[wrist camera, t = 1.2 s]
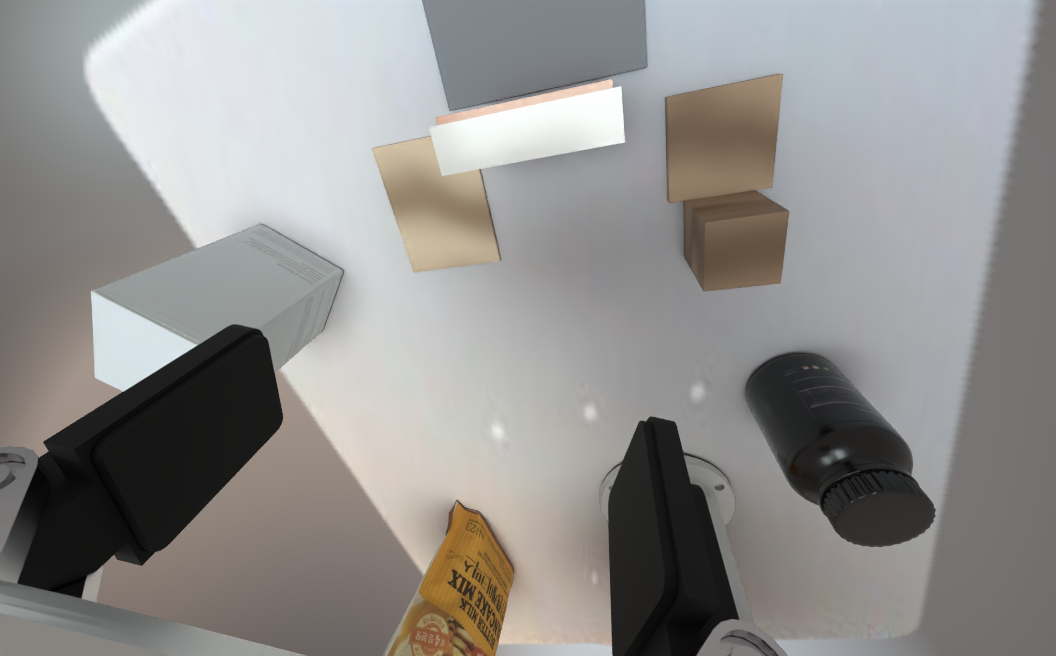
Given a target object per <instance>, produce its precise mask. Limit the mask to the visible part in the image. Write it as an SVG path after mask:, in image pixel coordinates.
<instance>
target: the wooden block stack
mask: <svg viewBox="0 0 1056 656" xmlns="http://www.w3.org/2000/svg"><path fill="white" fill-rule="evenodd" d="M782 78H783V74H777V75H772V76H767V77H762V78H757V79H752V80H747V81H742V82H737V83H732V84H727V85H722V86H718V87H713V88H708V89H703V90H698V91H693V92H688V93H683V94H678V95H673V96H668V97H665V118H666V161H667V200H668V202H669V203H672V202H679V201H683V210H684V257H685V259H686V261H687V263H688V264H689V266H690V268H691V270H692V272H693V273H694V275H695V277H696V279H697V281H698V282H699V284H700V286H701V288H702V290H703V291H713V290H722V289H732V288H741V287H751V286H760V285H770V284H779V283H781V277H782V268H783V260H784V251H785V242H786V234H787V225H788V217H789V211H788V210H787V209H785V208H783V207H782V206H780V205H778V204H777V203H775V202H773V201H772V200H770V199H768V198H767V197H765V196H763V195H762V194H760V193H758V192H757V191H755V190H759V189H765V188H772V184H773V174H774V163H775V152H776V142H777V131H778V121H779V110H780V99H781V89H782Z"/></svg>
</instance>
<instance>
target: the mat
mask: <svg viewBox="0 0 1056 656" xmlns="http://www.w3.org/2000/svg"><path fill="white" fill-rule="evenodd" d="M422 2H423V6H424V10H425V14H426V18H427V22H428V26H429V30H430V34H431V38H432V42H433V47H434V51H435V55H436V59H437V63H438V67H439V71H440V75H441V79H442V83H443V87H444V91H445V95H446V99H447V103H448V108H449V111H450V110H455V109H460V108H464V107H469V106H474V105H478V104H483V103H487V102H492V101H496V100H501V99H505V98H510V97H514V96H519V95H523V94H528V93H532V92H537V91H542V90H546V89H551V88H555V87H560V86H564V85H569V84H573V83H578V82H582V81H587V80H591V79H596V78H601V77H605V76H610V75H614V74H619V73H623V72H628V71H632V70H637V69H641V68H646V67H647V56H646V31H645V7H644V0H422Z"/></svg>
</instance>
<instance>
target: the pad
mask: <svg viewBox="0 0 1056 656" xmlns="http://www.w3.org/2000/svg"><path fill="white" fill-rule="evenodd" d="M372 151H373V154H374V157H375V160H376V162H377V165H378V168H379V171H380V174H381V177H382V180H383V183H384V186H385V189H386V192H387V195H388V198H389V201H390V204H391V207H392V210H393V213H394V216H395V219H396V221H397V224H398V227H399V230H400V233H401V236H402V239H403V242H404V245H405V248H406V251H407V254H408V257H409V260H410V263H411V266H412V269H413V272H421V271H428V270H436V269H443V268H451V267H458V266H466V265H473V264H481V263H488V262H496V261H500V260H501V259H500V254H499V250H498V246H497V241H496V237H495V232H494V228H493V224H492V219H491V215H490V210H489V206H488V202H487V197H486V193H485V188H484V184H483V180H482V175H481V171H480V169H478V170H473V171H467V172H462V173H456V174H451V175H446V176H442V174H441V171H440V167H439V163H438V160H437V156H436V152H435V149H434V145H433V141H432V138H431V136H430V137H425V138H420V139H415V140H411V141H406V142H401V143H396V144H391V145H387V146H382V147H377V148H372Z"/></svg>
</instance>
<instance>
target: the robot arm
mask: <svg viewBox="0 0 1056 656" xmlns="http://www.w3.org/2000/svg"><path fill="white" fill-rule="evenodd" d="M282 420H283V413H282V408H281V403H280V398H279V393H278V388H277V383H276V378H275V372H274V367H273V362H272V357H271V352H270V347H269V342H268V339H267V338H266V337H264V335H263V333H262V332H261V330H259V329H256V328H252V327H247V326H243V325H238V324H232V325H230V326H227V327H226V328H224V329H223V330H221V331H219V332H218V333H216V334H215V335H213V336H212V337H210V338H208V339H207V340H205V341H204V342H202V343H200V344H199V345H197V346H196V347H194V348H192V349H191V350H189V351H188V352H186V353H184V354H183V355H181V356H180V357H178V358H176V359H175V360H173V361H172V362H170V363H168V364H167V365H165V366H164V367H162V368H160V369H159V370H157V371H156V372H154V373H152V374H151V375H149V376H148V377H146V378H144V379H143V380H141V381H140V382H138V383H136V384H135V385H133V386H132V387H130V388H128V389H127V390H125V391H124V392H122V393H121V394H119V395H117V396H116V397H114V398H112V399H111V400H109V401H108V402H106V403H104V404H103V405H101V406H100V407H98V408H96V409H95V410H93V411H92V412H90V413H88V414H87V415H85V416H84V417H82V418H80V419H79V420H77V421H76V422H74V423H72V424H71V425H70V426H68V427H66V428H64V429H63V430H61V431H60V432H58V433H56V434H55V435H53V436H52V437H50V438H48V439H47V440H45V441H44V442H43V443H44V444H45V446H46V448H47V449H48V451H49V452H47V453H46V454H44V455H43V456H41V457H40V458H39V457H38V456H37V454H36V453H35V452H34V451H33V450H31V449H27V448H25V447H10V446H9V447H1V448H0V656H306V655H302V654H298V653H294V652H290V651H286V650H282V649H278V648H274V647H271V646H267V645H262V644H259V643H255V642H251V641H247V640H243V639H239V638H235V637H231V636H227V635H224V634H220V633H216V632H212V631H208V630H204V629H200V628H196V627H192V626H188V625H184V624H180V623H176V622H172V621H168V620H164V619H160V618H156V617H152V616H148V615H144V614H140V613H136V612H132V611H128V610H124V609H120V608H116V607H112V606H108V605H104V604H100V603H96V599H97V594H98V589H99V584H100V580H101V575H102V570H103V566H104V564H105V563H106V562H107V561H108V560H109V559H110V558H111V557H112V556H113V555H115V556H116V558H117V560H121V561H125V562H129V563H133V564H137V565H141V566H142V565H143V564H144V563H145V562H146V561H147V560H148V559H149V558H150V557H151V556H152V555H153V554H154V553H155V552H157V551H160V550H162V549H164V548H165V547H166V546H168V544H170V543H171V542H172V541H173V540H174V538H176V536H177V535H178V534H179V533H180V532H181V531H182V530H183V529H184V528H185V527H186V526H187V525H188V524H189V523H190V522H191V521H192V520H193V518H195V516H196V515H197V514H198V513H199V512H200V511H201V510H202V509H203V508H204V507H205V506H206V505H207V504H208V503H209V502H210V501H211V500H212V498H213V497H215V495H216V494H217V493H218V492H219V491H220V490H221V489H222V488H223V487H224V486H225V485H226V484H227V483H228V482H229V481H230V480H231V479H232V477H234V476H235V474H236V473H237V472H238V471H239V470H240V469H241V468H242V467H243V466H244V465H245V464H246V463H247V462H248V461H249V460H250V459H251V458H252V456H253V455H254V454H255V453H256V452H257V451H258V450H259V449H260V448H261V447H262V446H263V445H264V444H265V443H266V442H267V441H268V440H269V439H270V438H271V437H272V436H273V434H274V433H275V432H276V431H277V430H278V429H279V427H280V426H281V424H282ZM600 507H601V511H602V514H603V516H604V518H605V519H606V520H607V522H608V526H609V559H610V591H611V624H612V654H613V656H787V654H786V653H785V651H784V650H783V649H782V648H781V647H780V646H779V645H778V644H777V643H776V642H775V641H774V639H773V638H772V637H770V636H769V635H768V634H766V633H765V632H764V631H762V630H761V629H760V628H758V627H756V626H755V623H754V620H753V616H752V613H751V610H750V606H749V603H748V600H747V597H746V593H745V590H744V587H743V583H742V580H741V577H740V573H739V570H738V567H737V563H736V560H735V557H734V554H733V550H732V547H731V544H730V540H729V537H728V534H727V530H726V527H725V526H726V525H727V524H728V523H729V522H730V520H731V518H732V517H733V515H734V511H735V507H736V505H735V496H734V493H733V490H732V487H731V485H730V483H729V482H728V480H727V478H726V477H725V476H724V475H723V474H722V473H721V472H720V471H719V470H718V469H716V468H715V467H713V466H712V465H711V464H709V463H706V462H704V461H702V460H700V459H697V458H693V457H690V456H687V455H684V454H683V450H682V446H681V442H680V438H679V434H678V429H677V426H676V423H675V422H674V421H669V420H665V419H660V418H656V417H649V418H648V420H647V422H646V421H640V422H639V423H638V426H637V428H636V430H635V433H634V435H633V438H632V440H631V443H630V445H629V447H628V450H627V452H626V455H625V457H624V460H623V462H622V464H621V465H619V466H618V467H616V468H615V469H613V470H612V471H611V472H610V473H609V474H608V475H607V477H606V478H605V480H604V481H603V483H602V486H601V489H600Z"/></svg>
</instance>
